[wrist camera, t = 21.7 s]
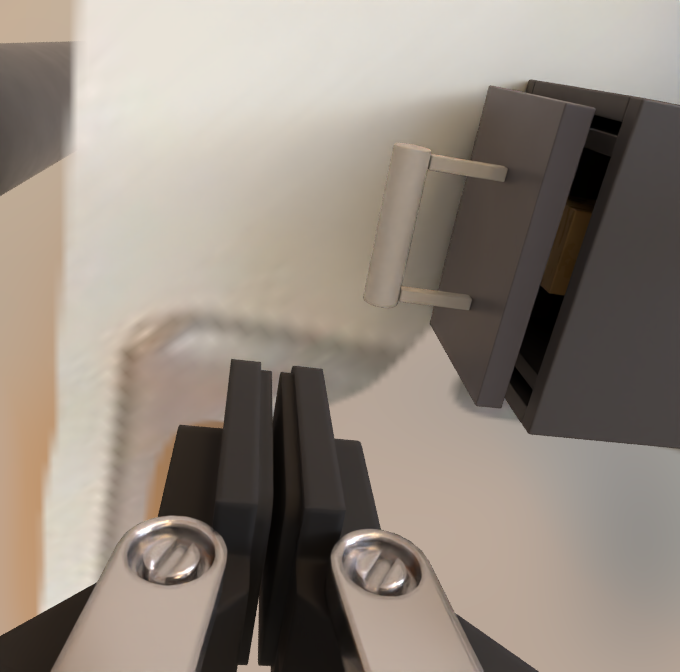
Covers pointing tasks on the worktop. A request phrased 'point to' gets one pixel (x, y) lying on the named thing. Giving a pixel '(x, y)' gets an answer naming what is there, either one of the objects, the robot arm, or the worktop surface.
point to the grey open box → (618, 291)
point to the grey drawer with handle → (494, 233)
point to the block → (567, 244)
